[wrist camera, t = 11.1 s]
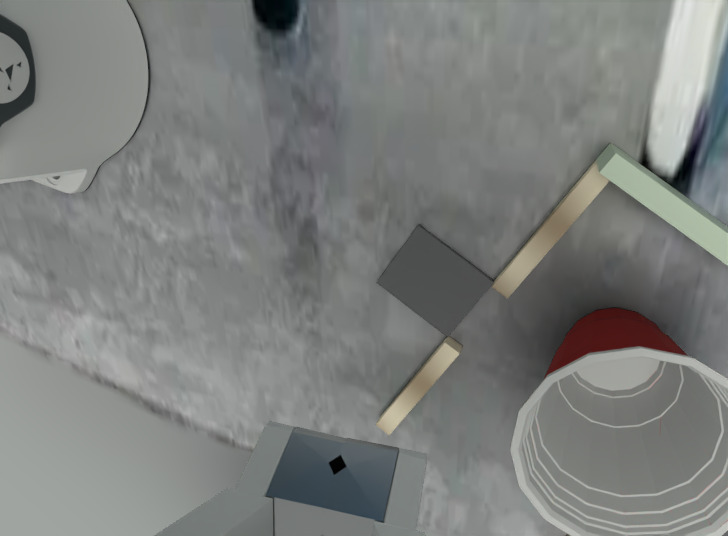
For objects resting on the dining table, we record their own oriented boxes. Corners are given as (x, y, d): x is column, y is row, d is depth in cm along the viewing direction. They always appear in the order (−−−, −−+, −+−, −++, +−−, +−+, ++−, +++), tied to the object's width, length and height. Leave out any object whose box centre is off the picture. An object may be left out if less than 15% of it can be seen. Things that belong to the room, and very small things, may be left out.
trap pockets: (727, 548, 40) (728, 551, 39) (377, 281, 42) (376, 282, 41) (790, 503, 37) (792, 506, 37) (419, 224, 40) (418, 225, 39)
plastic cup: (662, 456, 39) (696, 604, 28) (501, 385, 41) (475, 497, 30) (753, 311, 35) (834, 420, 24) (570, 240, 37) (569, 310, 26)
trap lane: (563, 560, 44) (563, 572, 42) (380, 416, 45) (375, 424, 44) (839, 335, 34) (847, 343, 33) (595, 159, 35) (596, 162, 34)
